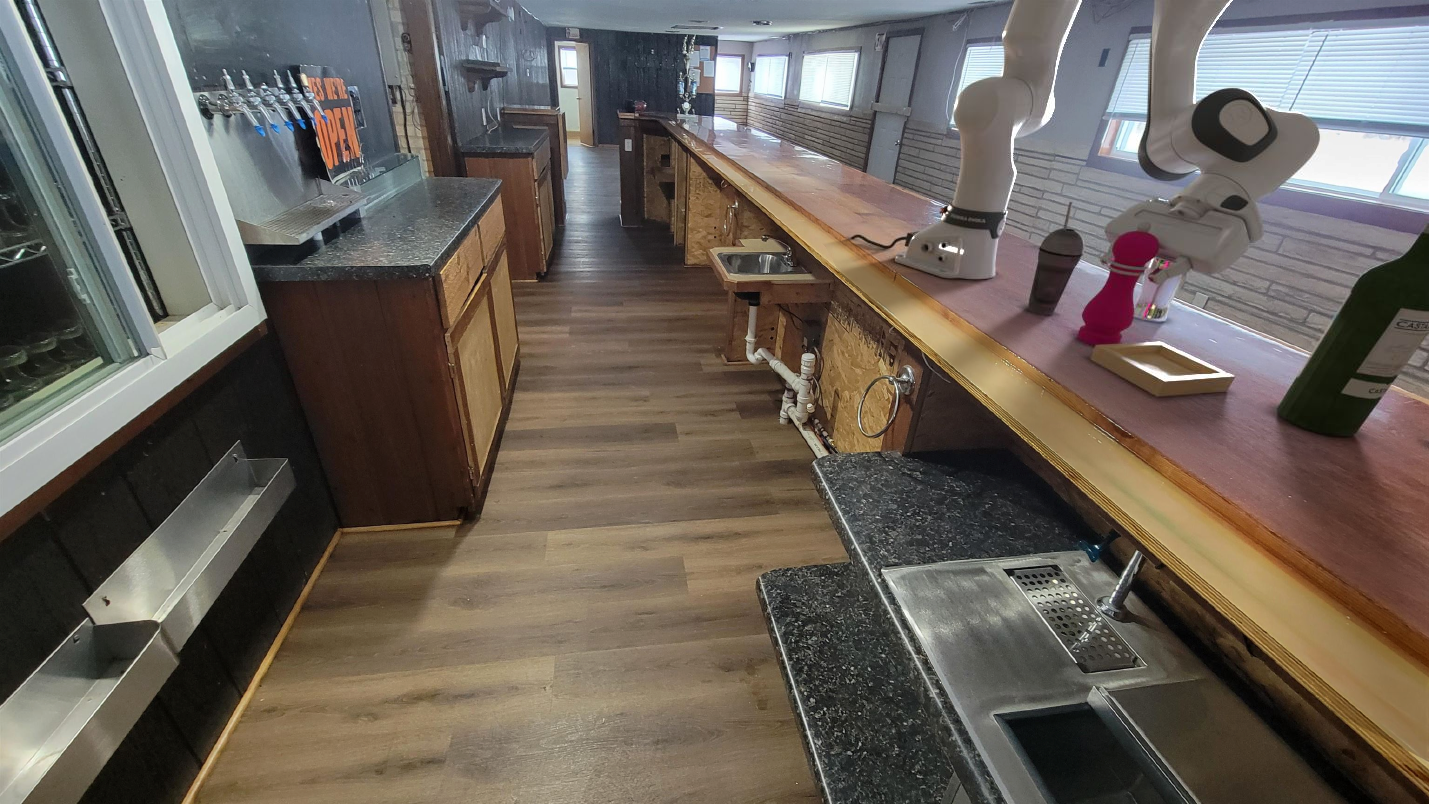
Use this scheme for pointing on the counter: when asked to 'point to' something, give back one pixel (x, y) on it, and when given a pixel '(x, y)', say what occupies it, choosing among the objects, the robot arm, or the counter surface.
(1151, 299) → the beer glass
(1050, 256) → the beverage cup
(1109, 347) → the tray
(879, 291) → the counter surface
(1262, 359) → the counter surface
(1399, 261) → the wine bottle
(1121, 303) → the pepper mill
